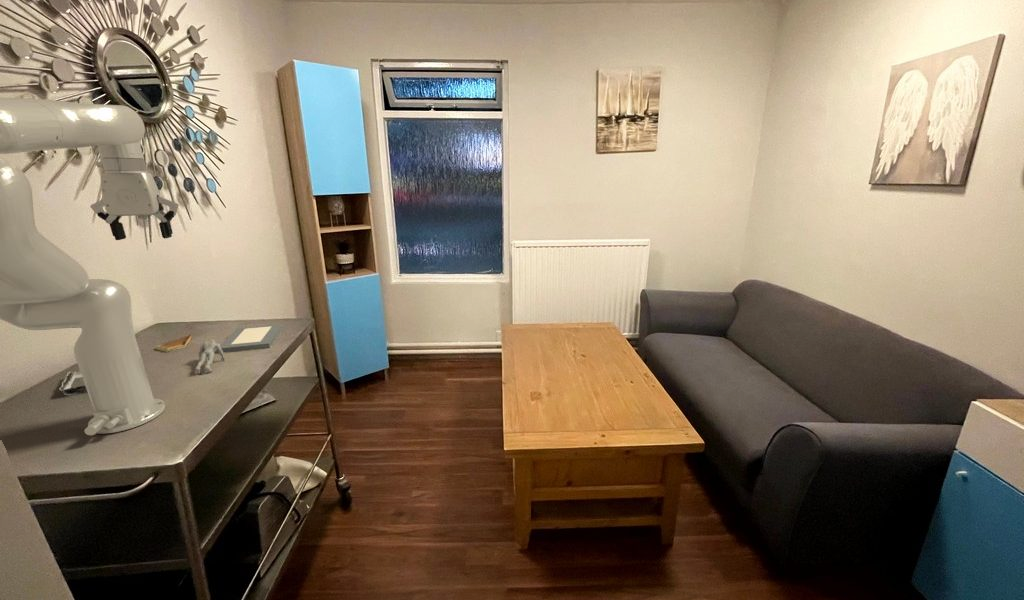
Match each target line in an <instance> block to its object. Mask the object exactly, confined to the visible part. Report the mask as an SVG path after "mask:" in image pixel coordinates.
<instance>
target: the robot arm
mask: <svg viewBox="0 0 1024 600" xmlns="http://www.w3.org/2000/svg"><path fill="white" fill-rule="evenodd" d="M145 132H146V127H145V123H144V121H143V119H142V118H141V116H140V115H139V113H137V112H136V111H135V110H134V109H132V108H131V107H130V106H126V105H118V104H105V103H104V104H102V103H80V102H79V103H78V102H71V101H63V100H55V99H41V98H25V97H23V98H22V97H21V98H20V97H1V96H0V155H3V154H4V155H9V154H18V153H19V154H20V153H27V152H36V151H37V152H38V151H48V150H61V149H78V148H79V149H80V148H88V147H97V149H98V152H99V156H100V161H96V162H95V165H96V167H97V168H99V169H100V168H101V169H102V170H103V171H104V172H101V173H100V189H101V196H102V198H101V199H100V200H98V201H96V202H95V203H92V204H91V205H90V208H91V210H93V211H94V213H95V214H96V215H97V216H98V217H99V218H100V219H102V220H104V221H105V223H106V224H108V225H109V227H110V230H111V234H112V236H113V237H114V240H115V241H121V240H126V239H127V236H126V231H125V227H124V225H123V223H122V222H121V221H120V220H121V218H122V217H124V216H126V217H127V216H128V217H129V216H130V217H132V216H136V217H137V216H152V215H153V216H154V217H155V218H157V219H158V220H159V222H158V226H159V230H160V233H161V237H162V239H169V238H173V237H172V235H173V229H172V224H171V221H172V220H173V218H174V217H175V216H176V215H177V211H178V209H179V206H180V205H179V203H177V202H174V201H172V200H169V199H167V198H165V197H162V196H161V194H160V190H159V187H158V186H157V184H156V180H155V179H154V177H153V175H152V173H151V172H148V169H147V165H146V161H145V158H144V154H143V150H142V146H141V140H143V138H144V136H145ZM164 205H165V206H166V207H168V211H167V212H165V206H164ZM103 208H105V209H103ZM34 212H35V211H34V198H33V189H32V185H31V183H30V181H29V178H28V177H27V176H26V174H25V173H24V172H23V170H21V168H20V167H18V166H17V165H16V164H14V163H12V162H10V161H8V160H6V159H3V158H0V320H2V321H3V322H6V323H7V324H11V325H13V326H15V327H18V328H21V329H25V330H29V331H47V330H48V331H50V330H61V329H78V328H79V329H81V333H80V334H79V336H78V337H77V340H76V342H75V343H74V346H73V354H74V357H75V358H74V359H75V361H76V362H77V365H78V369H79V371H80V372H81V375H82V377H81V378H82V380H83V383H84V386H86V389H87V392H86V393H87V395H88V396H89V397H88V398H89V400H90V402H91V403H90V404H91V406H92V408H93V413H92V415H93V417H92V418H91V419H90V420H89V421H88V423H87V427H86V428H84V434H86V435H87V436H95V435H96V434H103V435H104V434H105V435H106V434H112V433H118V432H123V431H126V430H131V429H133V428H135V427H139V426H141V425H144V424H146V423H148V422H151V421H152V420H154V419H155V418H157V417H159V415H161V414H162V413H163V412H164V411H165V408H166V405H165V401H164V400H163V399H160V398H155V397H154V396H153V392H152V388H151V385H150V381H149V377H148V375H147V371H146V367H145V365H144V362H143V357H142V354H141V351H140V347H139V345H138V342H137V338H136V334H135V330H134V326H133V325H134V324H133V316H132V315H133V313H132V298H131V295H130V292H129V290H128V289H127V287H125V285H123V283H122V284H121V283H120V282H118V281H115V280H111V279H103V278H102V279H101V278H92V279H91V278H89V274H88V272H87V270H86V269H85V268H84V267H83V266H82V265H81V264H80V262H78V261H77V260H75V258H73V257H72V256H70V255H69V254H68V253H66V252H65V251H64V250H62V249H61V248H60V247H58V246H57V245H55V243H53V242H52V241H51V240H49V239H47V238H46V236H44V235H43V234H41V232H39V230H38V229H37V226H36V219H35V213H34Z"/></svg>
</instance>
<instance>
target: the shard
mask: <svg viewBox="0 0 1024 600" xmlns="http://www.w3.org/2000/svg"><path fill="white" fill-rule="evenodd" d="M192 335H193V334H191V333H190V334H189V335H184V336H183V337H178V338H176V339H173V340H169V341H167V342H164V343H161V344H158V345H156V346H155V347H154V348H155V350H157V351H161V352H166V353H168V351H169V352H172V351H177V350H181V348H182V349H185V348H186V346H187V345H188V344H189V342H190V341H191V340H192ZM190 339H191V340H190ZM176 349H177V350H176ZM171 350H172V351H171Z"/></svg>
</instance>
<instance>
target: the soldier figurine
mask: <svg viewBox="0 0 1024 600" xmlns="http://www.w3.org/2000/svg"><path fill="white" fill-rule="evenodd" d="M220 345H221V344H220V343H218V342H216V340H215V339H208V341H205V342H203V344H201V345H200V346H199V351H198V353H197V355H198V362H197V363H196V364H197V365H196V366H195V369H194V374H195V375H200V374H201V367H202V366H204V363H205V362H206V363H205V366H204V367H203V370H205V371H206V373H208V374H210V373H212V372H213V370H212V368H211V365H213V364H214V363H213V361H214V359H215V352H214V351H215V350H217V352H218V351H219V353H218V354H219V355H220V356H221V358H220V359H221V360H220V361H223V362H225V360H226V357H225V355H224V353H223V351H222V349H221V346H220ZM206 360H207V361H206Z"/></svg>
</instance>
